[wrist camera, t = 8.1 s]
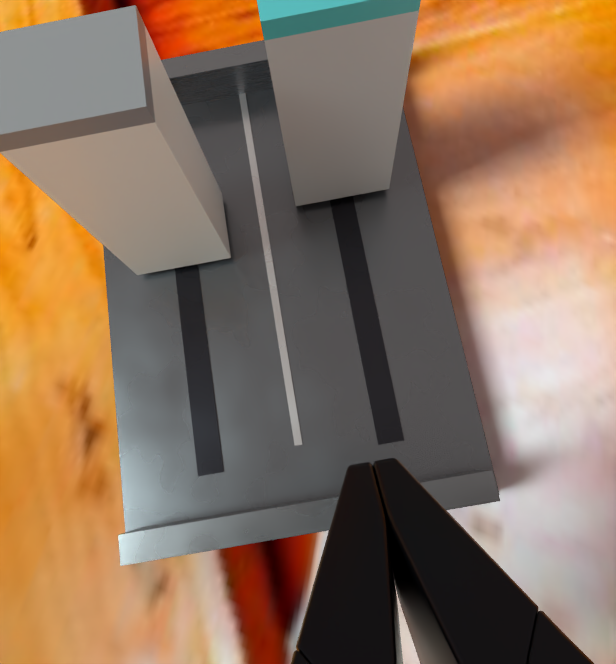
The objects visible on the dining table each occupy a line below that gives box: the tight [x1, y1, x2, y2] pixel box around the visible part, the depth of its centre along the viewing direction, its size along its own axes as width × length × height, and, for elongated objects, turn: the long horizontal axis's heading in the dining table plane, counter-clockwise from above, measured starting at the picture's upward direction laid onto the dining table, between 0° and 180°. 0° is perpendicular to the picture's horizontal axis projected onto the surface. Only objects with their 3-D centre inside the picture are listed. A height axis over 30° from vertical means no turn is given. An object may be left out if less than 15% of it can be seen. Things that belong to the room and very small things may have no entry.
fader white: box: [0, 5, 231, 275], centre depth 17 cm, size 3×4×10 cm
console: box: [103, 40, 500, 566], centre depth 21 cm, size 20×14×3 cm
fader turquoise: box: [257, 0, 421, 206], centre depth 18 cm, size 3×4×10 cm
